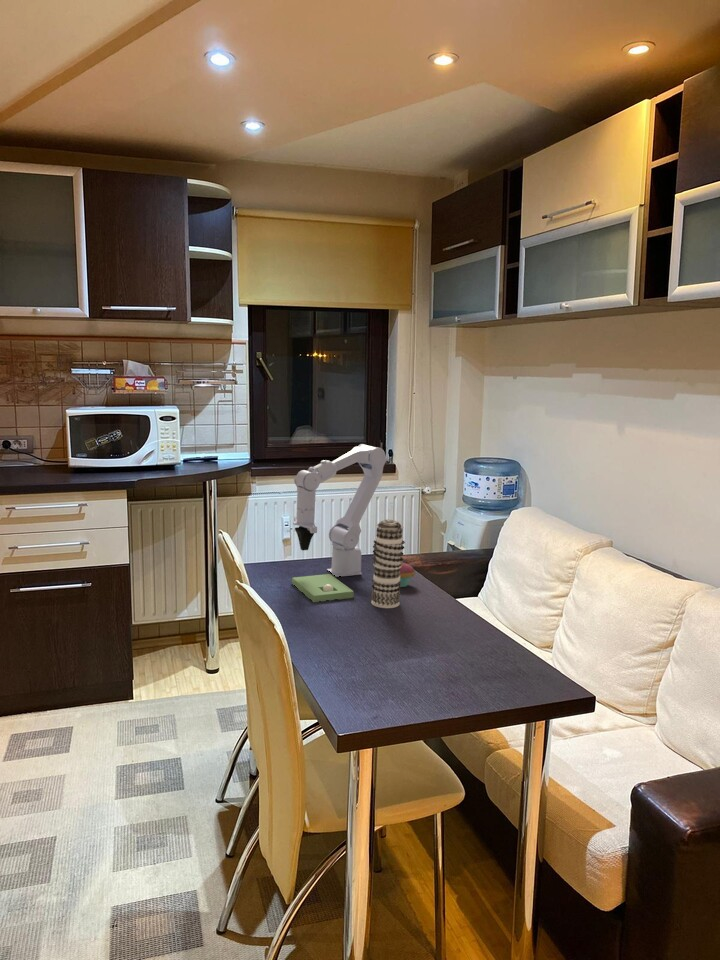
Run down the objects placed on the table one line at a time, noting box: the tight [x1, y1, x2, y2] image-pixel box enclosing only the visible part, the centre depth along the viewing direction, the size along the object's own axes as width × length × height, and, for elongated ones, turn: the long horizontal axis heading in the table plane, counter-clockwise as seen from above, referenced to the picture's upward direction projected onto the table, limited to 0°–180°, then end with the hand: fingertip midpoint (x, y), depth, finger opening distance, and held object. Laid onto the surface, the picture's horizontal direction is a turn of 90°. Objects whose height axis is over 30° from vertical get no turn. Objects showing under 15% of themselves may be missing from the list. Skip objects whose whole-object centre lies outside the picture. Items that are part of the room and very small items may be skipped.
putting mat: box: [291, 573, 354, 603], centre depth 222 cm, size 13×18×2 cm
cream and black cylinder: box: [370, 519, 406, 609], centre depth 212 cm, size 9×9×25 cm
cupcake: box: [400, 561, 416, 588], centre depth 231 cm, size 9×8×12 cm
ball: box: [323, 584, 333, 592], centre depth 218 cm, size 3×3×3 cm
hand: (304, 549), depth 231 cm, fingers closed
